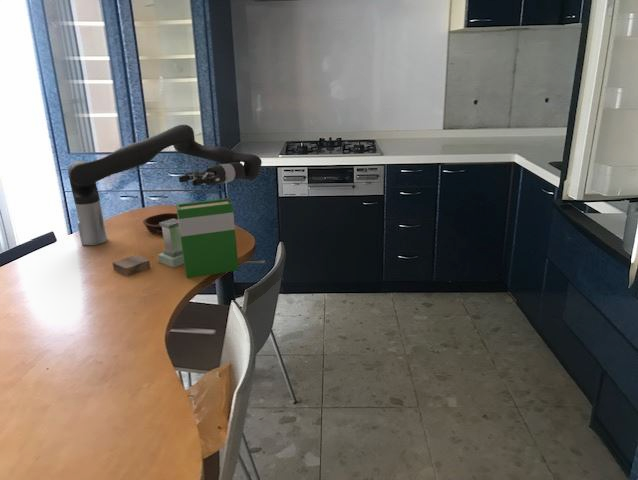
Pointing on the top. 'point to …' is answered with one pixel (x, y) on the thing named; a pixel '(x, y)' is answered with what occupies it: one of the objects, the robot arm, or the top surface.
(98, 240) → the robot arm
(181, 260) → the green stand
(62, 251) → the top surface
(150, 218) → the dish
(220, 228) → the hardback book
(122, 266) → the walnut stand
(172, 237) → the grey square pedestal
